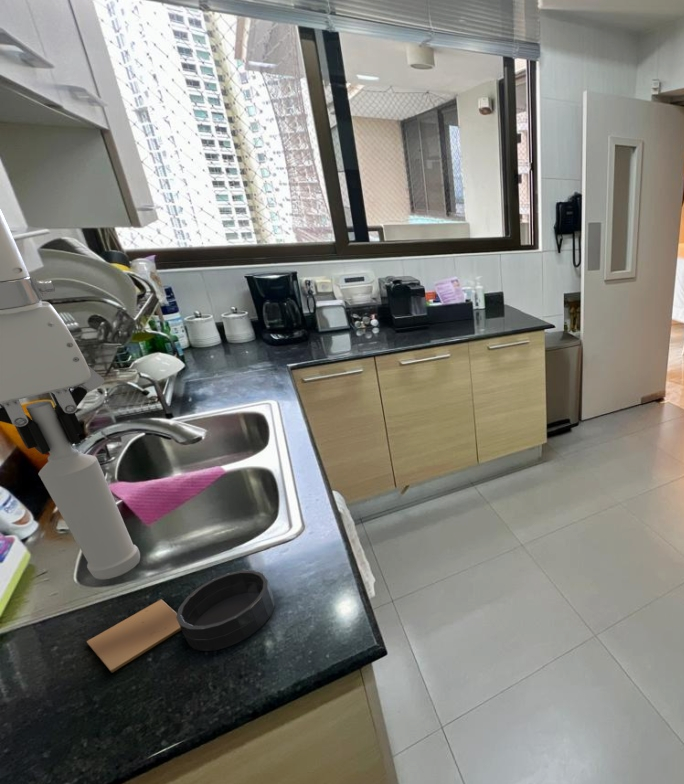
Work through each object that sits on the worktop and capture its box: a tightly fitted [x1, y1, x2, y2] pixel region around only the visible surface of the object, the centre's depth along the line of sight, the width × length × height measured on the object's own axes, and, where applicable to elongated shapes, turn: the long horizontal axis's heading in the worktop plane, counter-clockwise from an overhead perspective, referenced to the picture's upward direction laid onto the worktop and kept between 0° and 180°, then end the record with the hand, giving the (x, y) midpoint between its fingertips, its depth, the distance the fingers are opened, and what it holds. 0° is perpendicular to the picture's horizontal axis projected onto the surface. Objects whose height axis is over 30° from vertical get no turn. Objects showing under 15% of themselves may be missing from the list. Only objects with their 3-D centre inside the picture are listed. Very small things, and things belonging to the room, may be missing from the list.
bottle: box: [25, 400, 141, 580], centre depth 60 cm, size 5×5×25 cm
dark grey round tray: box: [176, 569, 276, 652], centre depth 72 cm, size 11×11×4 cm
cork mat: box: [86, 599, 182, 673], centre depth 70 cm, size 9×9×1 cm
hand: (58, 444), depth 57 cm, fingers closed on bottle, 2 cm apart
